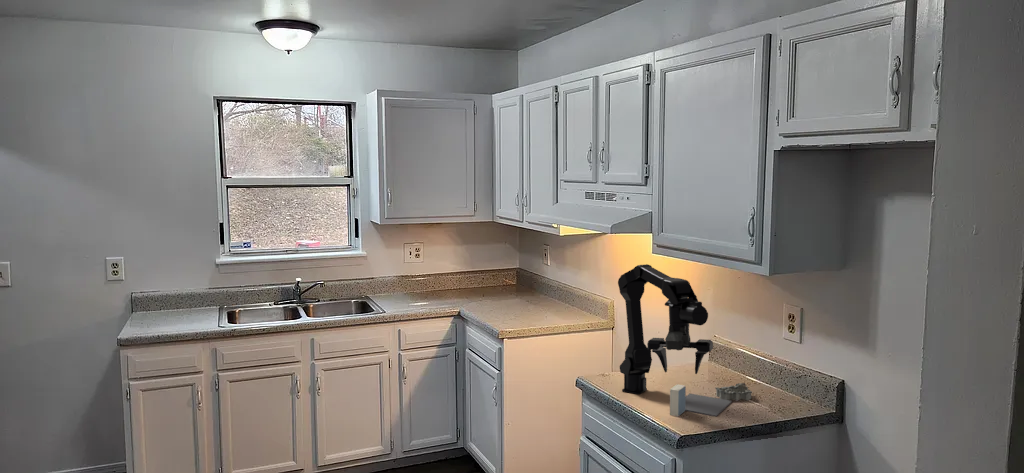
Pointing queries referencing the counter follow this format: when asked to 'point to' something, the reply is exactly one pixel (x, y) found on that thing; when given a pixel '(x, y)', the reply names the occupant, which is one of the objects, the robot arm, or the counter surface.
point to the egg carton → (734, 392)
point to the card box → (677, 400)
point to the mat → (705, 404)
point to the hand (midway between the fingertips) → (681, 373)
